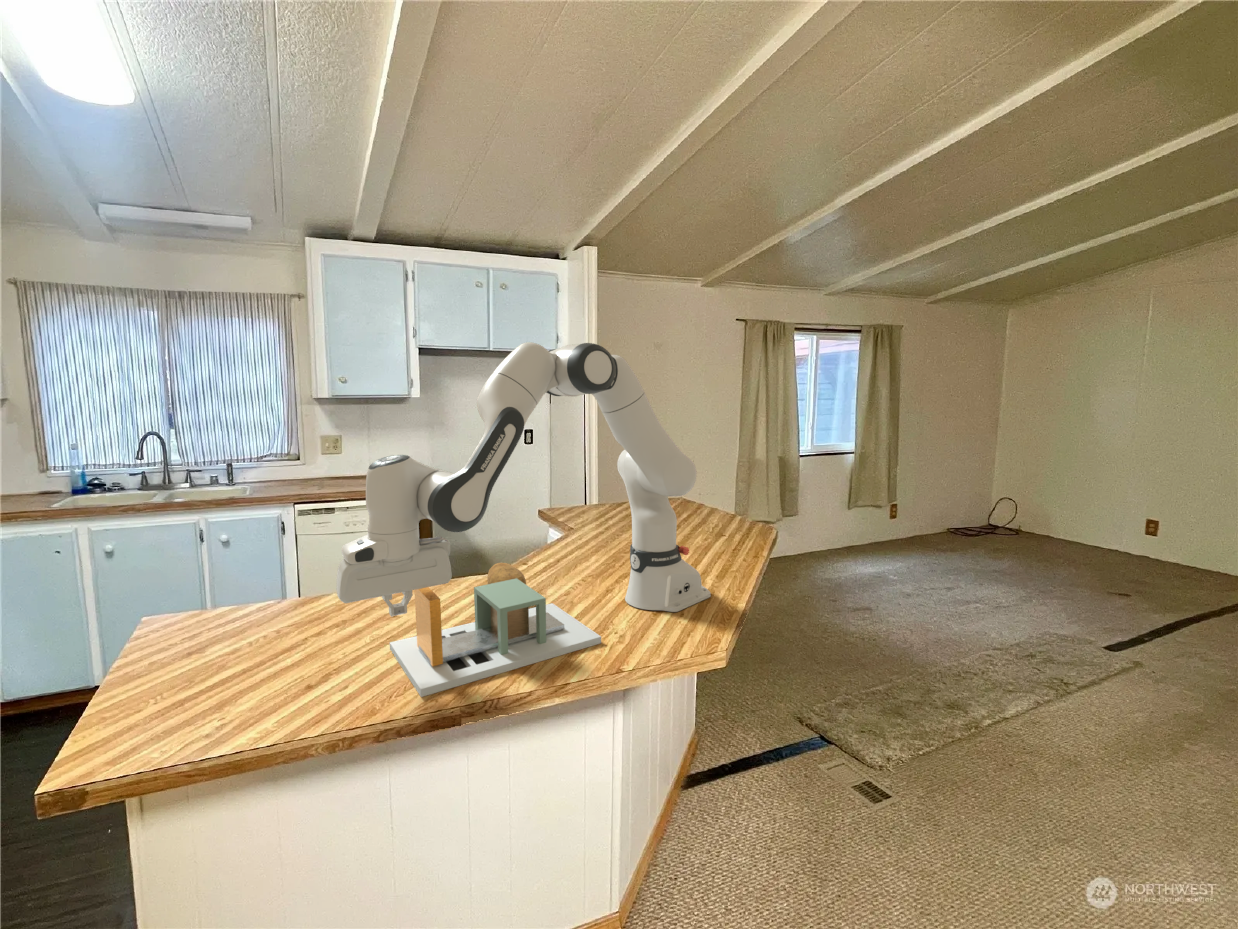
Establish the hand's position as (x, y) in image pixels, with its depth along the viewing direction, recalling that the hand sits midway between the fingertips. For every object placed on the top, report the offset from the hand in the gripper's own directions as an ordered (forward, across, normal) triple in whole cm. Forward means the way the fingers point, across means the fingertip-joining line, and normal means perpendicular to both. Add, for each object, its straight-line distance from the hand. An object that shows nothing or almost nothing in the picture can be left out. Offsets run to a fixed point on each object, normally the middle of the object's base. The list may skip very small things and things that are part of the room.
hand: (398, 614), depth 112 cm
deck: (+12, -19, 0) cm, 23 cm away
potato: (+12, -32, -24) cm, 42 cm away
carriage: (+10, -19, 0) cm, 21 cm away
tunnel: (+10, -22, 0) cm, 25 cm away
